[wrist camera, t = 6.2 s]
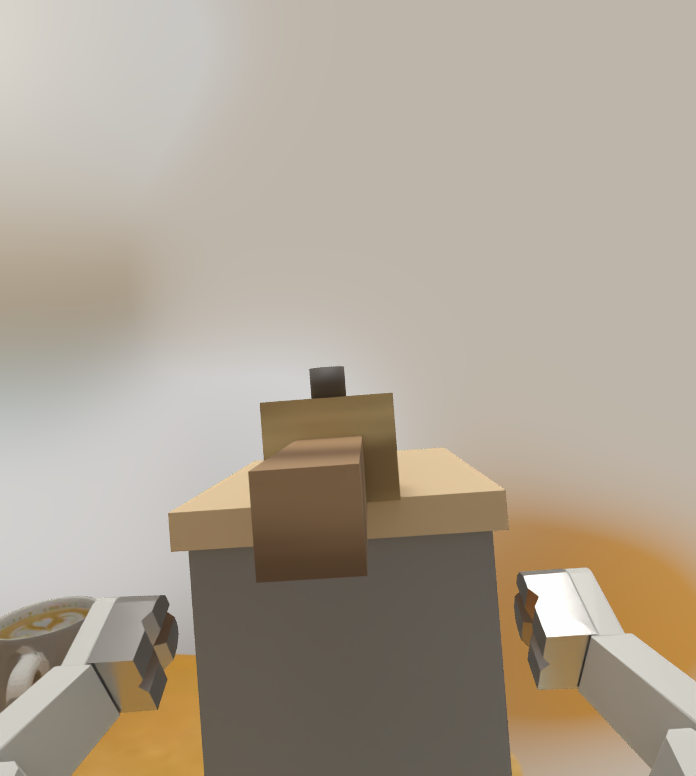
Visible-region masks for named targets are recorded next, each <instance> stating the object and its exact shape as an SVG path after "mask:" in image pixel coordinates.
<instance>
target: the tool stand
mask: <svg viewBox="0 0 696 776" xmlns="http://www.w3.org/2000/svg"><path fill="white" fill-rule="evenodd" d="M397 458H398V471H399V484H400V497H401V500H396V501H381V502H367V576H359V577H343V578H327V579H311V580H295V581H279V582H263V583H256V573H255V559H254V546H253V532H252V518H251V504H250V491H249V477H248V471H250V470H251V469H253V468H254V467H256V466H257V465H259V464H260V463H262V462H263V461H264V460H262V461H254V462H253V463H251V464H249V465H247V466H246V467H244V468H243V469H241V470H239V471H237V472H236V473H234V474H232V475H231V476H229V477H228V478H226V479H224V480H222V481H221V482H219V483H218V484H216V485H214V486H213V487H211V488H209V489H208V490H206V491H204V492H203V493H201V494H199V495H198V496H196V497H194V498H193V499H191V500H189V501H188V502H186V503H184V504H183V505H181V506H179V507H178V508H176V509H174V510H173V511H171V512H169V513H168V516H169V531H170V544H171V552H174V551H189V564H190V577H191V591H192V606H193V620H194V635H195V647H196V648H195V649H196V663H197V677H198V691H199V705H200V719H201V733H202V747H203V761H204V776H512V771H511V758H510V746H509V733H508V720H507V708H506V695H505V684H504V670H503V658H502V646H501V633H500V620H499V608H498V596H497V582H496V570H495V558H494V546H493V532H492V531H498V530H509V527H508V515H507V502H506V491H505V489H503V488H502V487H500V486H499V485H497V484H496V483H494V482H493V481H492V480H490V479H489V478H487V477H486V476H484V475H483V474H482V473H480V472H479V471H477V470H476V469H474V468H473V467H472V466H470V465H469V464H467V463H466V462H464V461H463V460H461V459H460V458H459V457H457V456H456V455H454V454H453V453H451V452H450V451H448V450H447V449H446V448H431V449H416V450H403V451H397Z"/></svg>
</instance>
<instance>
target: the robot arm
mask: <svg viewBox="0 0 696 776" xmlns="http://www.w3.org/2000/svg"><path fill="white" fill-rule="evenodd" d="M517 586H518V589H519V593H518V594H517V595H516V596H515V603H514V609H515V619H516V623H517V627H518V631H519V635H520V638H521V640H522V641H523V642H524V643H525V644H526V645H527V646H528V647H529V652H528V662H529V665H530V668H531V671H532V674H533V677H534V680H535V683H536V686H537V689H538V690H546V689H578V691H579V692H580V693H581V694H582V696H583V697H584V698H585V699H586V700H587V701H588V702H589V703H590V704H591V705H592V706H593V707H594V708H595V709H596V710H597V711H598V713H599V714H600V715H601V716H602V717H603V718H604V719H605V720H606V721H607V722H608V723H609V724H610V725H611V726H612V728H613V729H614V730H615V731H616V732H617V733H618V734H619V735H620V736H621V737H622V738H623V739H624V740H625V741H626V742H627V743H628V745H629V746H630V747H631V748H632V749H633V750H634V751H635V752H636V753H637V754H638V755H639V756H640V757H641V758H642V759H643V760H644V762H646V764H647V765H648V766H649V767H650V768H651V769H652V770H651V772H650V775H649V776H696V682H695V681H694V680H693V679H691V678H690V677H689V676H688V675H686V674H685V673H684V672H682V671H681V670H679V669H678V668H677V667H676V666H674V665H673V664H672V663H670V662H669V661H668V660H666V659H665V658H664V657H662V656H661V655H660V654H658V653H657V652H656V651H654V650H653V649H652V648H650V647H649V646H648V645H646V644H645V643H644V642H643V641H641V640H640V639H638V638H637V637H636V636H635V635H633V634H625V633H624V631H623V629H622V627H621V626H620V624H619V622H618V620H617V618H616V616H615V614H614V612H613V611H612V609H611V607H610V605H609V603H608V601H607V600H606V598H605V596H604V594H603V592H602V590H601V588H600V587H599V584H598V583H597V581H596V579H595V577H594V575H593V573H592V572H591V571H590V570H589V569H588V568H574V569H552V570H539V571H526V572H519V574H518V575H517ZM168 607H169V602H168V600H167V598H166V596H165V595H160V596H131V597H110V598H99V599H98V600H96V601H95V602H94V603H93V605H92V606H91V608H90V610H89V612H88V614H87V616H86V618H85V620H84V622H83V624H82V626H81V628H80V630H79V632H78V634H77V635H76V637H75V639H74V641H73V643H72V645H71V647H70V649H69V651H68V653H67V655H66V657H65V659H64V661H63V663H62V665H61V666H55V667H53V668H52V669H51V670H50V671H49V672H47V673H46V674H45V675H44V676H43V677H42V678H41V679H39V680H38V681H37V682H36V683H35V684H34V685H32V686H31V687H30V688H29V689H28V690H27V691H26V692H24V693H23V694H22V695H21V696H20V697H19V698H17V699H16V700H15V701H14V702H13V703H12V704H11V705H9V706H8V707H7V708H6V709H5V710H4V711H2V712H1V713H0V776H71V775H72V773H73V772H74V771H75V770H76V768H77V767H78V766H79V765H80V764H81V762H82V761H83V760H84V759H85V758H86V756H87V755H88V754H89V753H90V751H91V750H92V749H93V748H94V747H95V745H96V744H97V743H98V742H99V741H100V739H101V738H102V737H103V736H104V734H105V733H106V732H107V731H108V730H109V728H110V727H111V726H112V725H113V723H114V722H115V721H116V720H117V719H118V717H119V716H120V714H119V713H126V712H138V711H150V710H158V707H159V704H160V701H161V698H162V694H163V691H164V688H165V685H166V682H167V677H166V675H165V672H164V669H165V668H166V667H167V666H168V665H169V664H170V663H171V662H172V661H173V660H174V656H175V653H176V649H177V643H178V626H177V622H176V620H175V617H174V616H172V615H170V614H169V613H167V610H168Z"/></svg>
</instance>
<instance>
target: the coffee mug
mask: <svg viewBox="0 0 696 776" xmlns="http://www.w3.org/2000/svg"><path fill="white" fill-rule="evenodd" d="M96 600H97V599H95V598H92V597H86V596H73V597H63V598H56V599H51V600H47V601H43V602H39V603H35V604H32V605H29V606H26V607H23V608H21V609H18V610H15V611H13V612H11V613H8V614H6V615H4V616H3V617H1V618H0V713H1V712H2V711H4V710H5V709H6V708H7V707H8V706H9V705H11V704H12V703H13V702H14V701H15V700H16V699H17V698H19V697H20V696H21V695H22V694H23V693H24V692H26V691H27V690H28V689H29V688H30V687H31V686H32V685H34V684H35V683H36V682H37V681H38V680H39V679H41V678H42V677H43V676H44V675H45V674H46V673H47V672H49V671H50V670H51V669H52V668H53V667H55V666H61V665H62V663H63V661H64V659H65V657H66V655H67V653H68V651H69V649H70V647H71V645H72V643H73V641H74V639H75V637H76V635H77V634H78V632H79V630H80V628H81V626H82V624H83V622H84V620H85V618H86V616H87V614H88V612H89V610H90V608H91V606H92V605H93V603H94V602H95V601H96Z"/></svg>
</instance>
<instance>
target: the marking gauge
mask: <svg viewBox="0 0 696 776" xmlns="http://www.w3.org/2000/svg"><path fill="white" fill-rule="evenodd" d="M309 370H310V385H311V398H312V399H304V400H291V401H277V402H266V403H260V412H261V425H262V439H263V454H264V461H263V462H262V463H260V464H259V465H257V466H256V467H254V468H253V469H251V470H250V471H248V477H249V491H250V504H251V518H252V532H253V546H254V559H255V573H256V583H263V582H279V581H295V580H311V579H327V578H343V577H359V576H367V502H381V501H396V500H401V497H400V484H399V471H398V458H397V445H396V432H395V419H394V406H393V393H382V394H370V395H356V396H346V389H345V376H344V367H341V366H339V367H321V368H313V369H309Z"/></svg>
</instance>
